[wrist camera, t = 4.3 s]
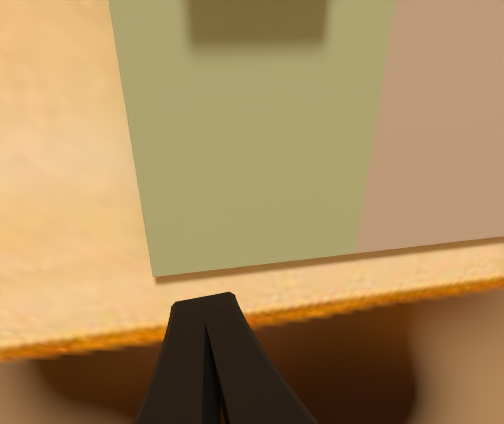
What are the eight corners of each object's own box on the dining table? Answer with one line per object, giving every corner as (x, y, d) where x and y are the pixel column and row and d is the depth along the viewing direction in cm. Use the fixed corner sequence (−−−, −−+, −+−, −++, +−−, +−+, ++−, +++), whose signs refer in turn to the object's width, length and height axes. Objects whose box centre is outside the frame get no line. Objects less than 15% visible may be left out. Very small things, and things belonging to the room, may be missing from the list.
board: (765, -422, 12) (813, -454, 11) (513, 223, 23) (527, 233, 22) (22, -578, 8) (6, -642, 7) (153, 264, 19) (152, 277, 19)
